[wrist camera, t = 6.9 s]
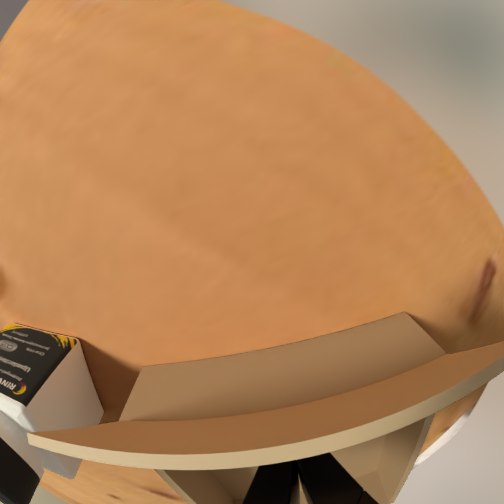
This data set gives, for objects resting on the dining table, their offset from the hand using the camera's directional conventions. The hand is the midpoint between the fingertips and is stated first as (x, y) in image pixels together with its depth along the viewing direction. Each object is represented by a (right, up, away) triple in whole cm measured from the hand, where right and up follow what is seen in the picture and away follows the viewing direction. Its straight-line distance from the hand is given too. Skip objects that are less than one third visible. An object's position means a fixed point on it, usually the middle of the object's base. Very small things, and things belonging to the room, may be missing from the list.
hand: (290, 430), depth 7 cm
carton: (+2, -9, +10) cm, 14 cm away
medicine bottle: (-16, -3, +8) cm, 18 cm away
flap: (0, 0, 0) cm, 0 cm away
